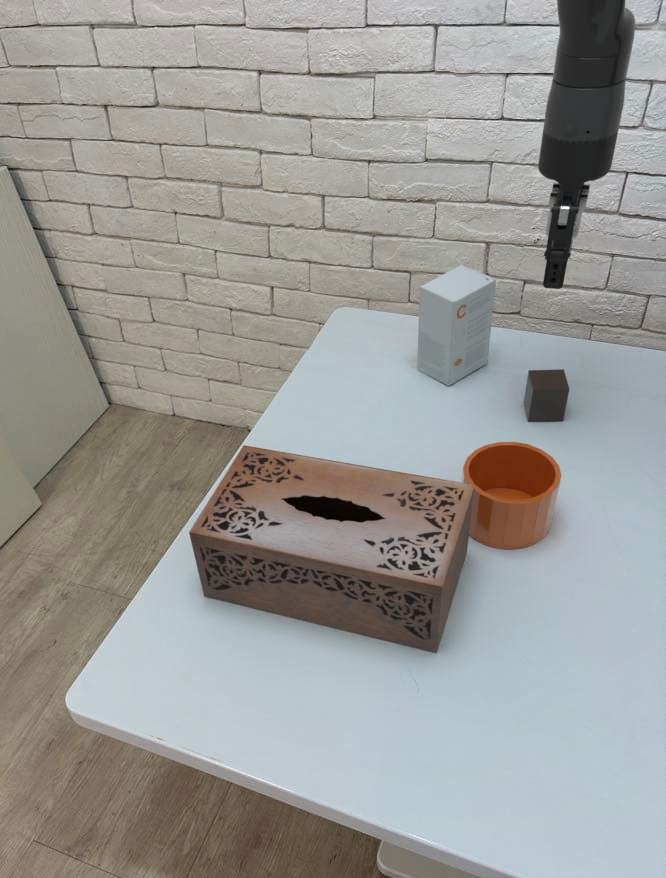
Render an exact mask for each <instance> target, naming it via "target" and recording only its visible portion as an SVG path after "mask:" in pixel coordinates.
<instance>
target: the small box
mask: <svg viewBox="0 0 666 878" xmlns="http://www.w3.org/2000/svg"><path fill="white" fill-rule="evenodd" d="M496 283H497V279H496V278H494V277H491V276H490V275H487V274H485V273H483V272H481V271H480V272H479V271H477V270H475V269H473V268H470V267H468V266H465V265H462V264H460V265H458V266H456V267H454V268H453V269H451V270H449V271H447V272H445V273H443V274H441V275H440V276H437V277H436V278H433V279H431V280H430V281H427V282H426V283H424V284H422V285H420V286H419V294H418V295H419V298H418V329H417V331H418V332H417V359H416V360H417V361H416V362H417V364H416V365H417V366H416V368H417V371H419V372H421V373H422V374H424V375H427V376H428V377H430V378H432V379H434V380H436V381H437V382H439V383H441V384H443V385H445V386H447V387H450V386H452V385H453V384H455V383H457V382H458V381H460V380H462V379H463V378H465V377H466V376H468V375H470V374H472V373H473V372H475V371H477V370H479V369H480V368H481V367H483V366H485V365H487V364H488V362H489V351H490V341H491V334H492V333H491V331H492V323H493V314H494V304H495V293H496Z"/></svg>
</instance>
